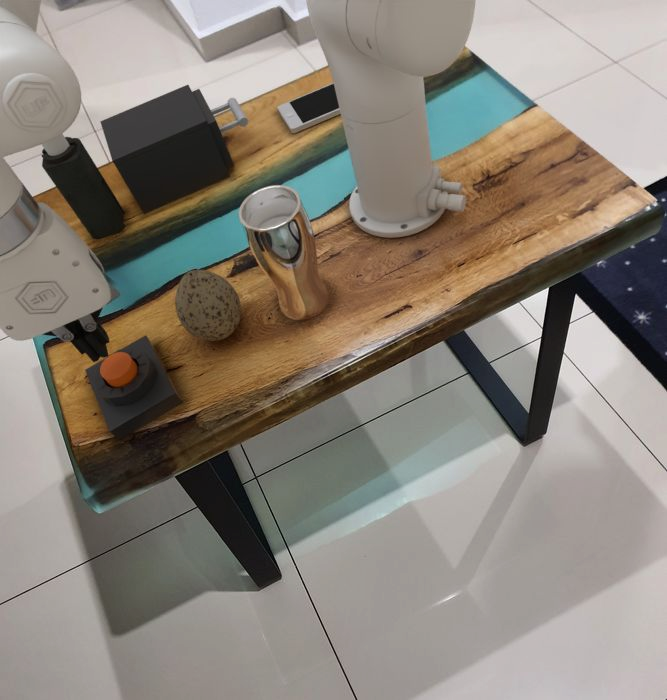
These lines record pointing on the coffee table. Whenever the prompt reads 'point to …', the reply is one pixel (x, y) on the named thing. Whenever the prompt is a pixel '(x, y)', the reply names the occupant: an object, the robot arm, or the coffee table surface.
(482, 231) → the coffee table surface
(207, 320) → the decorative egg
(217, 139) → the fryer drawer
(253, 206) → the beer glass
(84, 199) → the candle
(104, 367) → the button
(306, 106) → the smartphone
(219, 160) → the fryer
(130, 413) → the block
